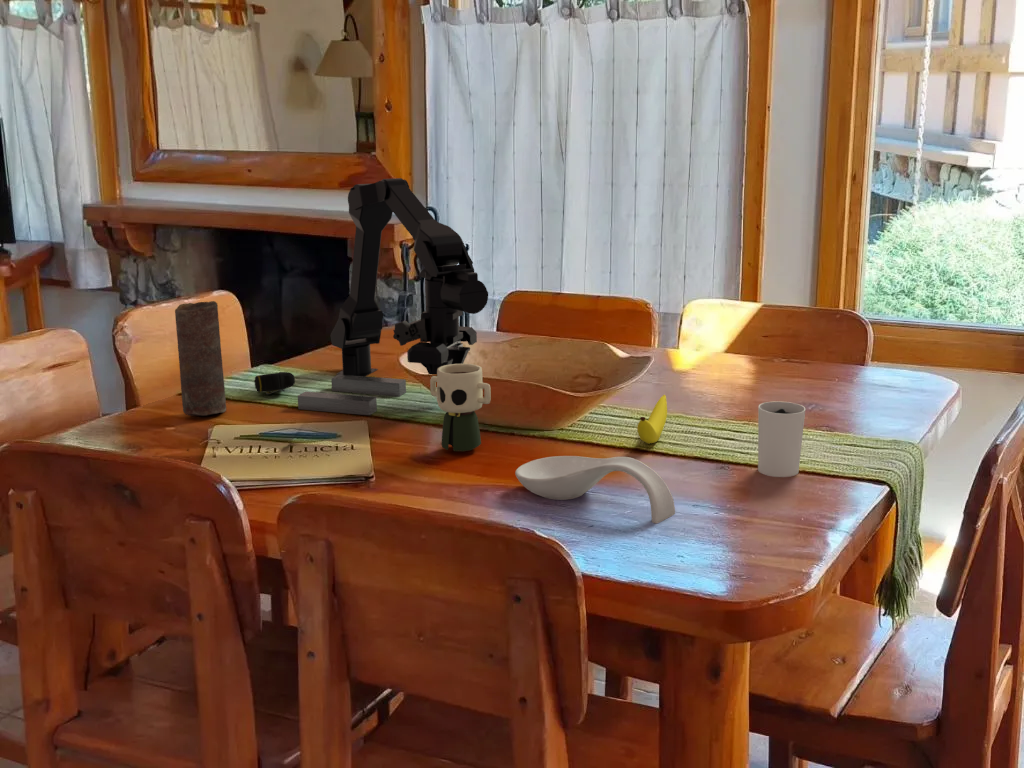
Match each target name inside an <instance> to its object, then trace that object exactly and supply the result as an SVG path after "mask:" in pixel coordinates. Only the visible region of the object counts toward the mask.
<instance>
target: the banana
mask: <svg viewBox="0 0 1024 768" xmlns="http://www.w3.org/2000/svg"><path fill="white" fill-rule="evenodd" d="M667 417H668V403H667V396H666V394H662V396H660V398H659V399H658V400H657V401H656V403H655V404H654V407H653V409H652V411H651V413H650V415H649V418H648V419H646V416H645V417H644V416H640V417H639V421H638V423H637V427H636V430H637V434H638V437H639V439H640V440H641V441H642V442H644V443H646V444H649V445H650V443H651V444H653V443H656V442H659V440H660V437H662V433H663V430H664V427H665V425H666V422H667Z"/></svg>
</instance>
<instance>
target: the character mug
mask: <svg viewBox="0 0 1024 768" xmlns="http://www.w3.org/2000/svg"><path fill="white" fill-rule="evenodd" d="M436 382H437V387H436ZM429 383H430V384H429V385H430V395H431V396H433V397H436V401H437V406H438V408H440V410H441V411H443V412H445V414H444V417H443V420H442V421H443V422H442V430H441V431H442V432H441V444H440V445H441V447H442V449H445V450H447V451H448V450H449V446H451V447H452V450H453V452H466V451H467V452H468V451H472V450H473V451H474V449H476V448H478V447H479V446H480V445H482V439H481V431H480V426H479V419H478V415H477V413H476V411H478V410H479V409H481V408H482V407H483V404H485V405H488V404H491V398H492V397H491V394H492V393H491V390H492V389H491V385H490V384H489V383H487V382H484V381H483V367H482V366H480V365H477V364H472V363H463V364H450V365H444V366H441V367H439V368H438V369H437V376H432V377H431V379H430V378H429ZM483 390H484V392H483ZM483 395H484V396H483Z"/></svg>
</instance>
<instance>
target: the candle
mask: <svg viewBox="0 0 1024 768" xmlns="http://www.w3.org/2000/svg"><path fill="white" fill-rule="evenodd" d="M174 315H175V316H174V317H175V326H176V328H175V329H176V340H177V350H178V361H179V377H180V378H179V379H180V389H181V401H182V412H183V413H184V414H185V415H187V416H192V417H196V416H197V417H205V416H211V415H216V414H219V413H221V414H222V413H225V412H227V402H226V388H225V379H224V367H223V359H222V358H223V356H222V347H221V345H222V344H221V335H220V334H221V332H220V320H219V306H218V302H216V301H214V300H213V301H199V302H198V301H197V302H195V303H194V302H189V303H179V305H178V306H177V307H176V308H175V310H174Z"/></svg>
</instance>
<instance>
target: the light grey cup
mask: <svg viewBox="0 0 1024 768" xmlns="http://www.w3.org/2000/svg"><path fill="white" fill-rule="evenodd" d="M757 413H758V417H757V418H758V420H757V421H758V422H757V423H758V424H757V425H758V427H757V429H758V431H757V432H758V435H757V437H758V438H757V440H758V441H757V443H758V444H757V447H758V448H757V451H758V452H757V461H758V462H757V470H758V471H757V472H759V473H760V474H763V475H765V476H768V477H773V478H790V477H794V476H797V475H798V474H799V471H800V469H799V468H800V462H801V461H800V460H801V452H802V445H803V436H804V424H805V415H806V407H805V406H804V405H802V404H799V403H796V402H790V401H779V400H778V401H777V400H776V401H767V402H762V403H760V404H758V409H757Z"/></svg>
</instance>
